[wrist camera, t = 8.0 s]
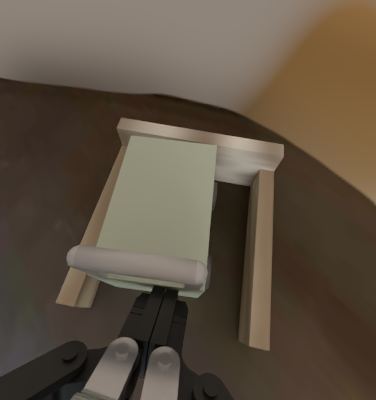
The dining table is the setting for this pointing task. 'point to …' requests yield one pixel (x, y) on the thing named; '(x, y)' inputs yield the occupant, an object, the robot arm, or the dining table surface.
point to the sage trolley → (156, 220)
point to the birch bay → (224, 171)
